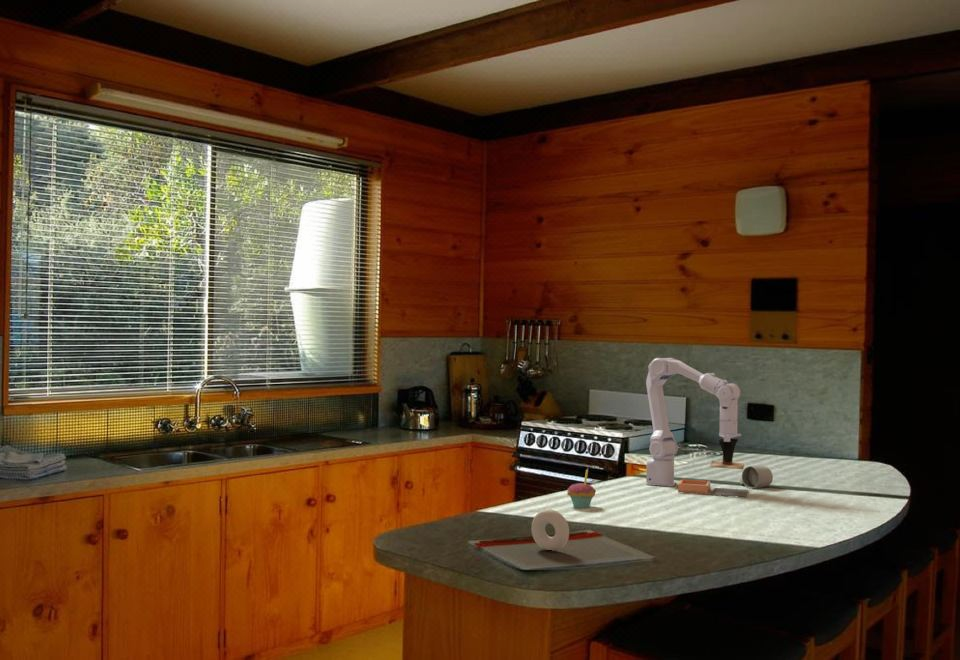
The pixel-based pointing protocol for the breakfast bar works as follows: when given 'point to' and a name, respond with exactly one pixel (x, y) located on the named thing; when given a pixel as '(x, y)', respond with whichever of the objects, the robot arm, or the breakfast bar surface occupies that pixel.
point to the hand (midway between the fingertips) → (728, 461)
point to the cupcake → (581, 493)
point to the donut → (559, 525)
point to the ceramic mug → (756, 477)
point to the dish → (694, 486)
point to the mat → (730, 492)
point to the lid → (727, 464)
